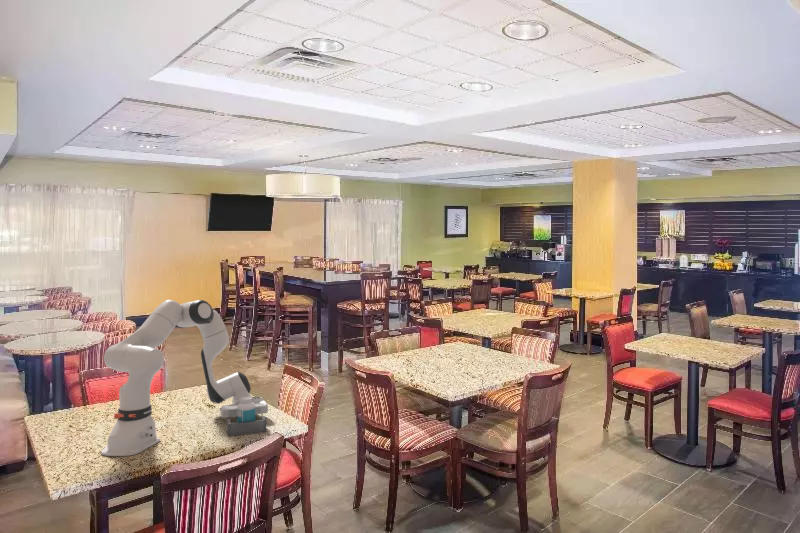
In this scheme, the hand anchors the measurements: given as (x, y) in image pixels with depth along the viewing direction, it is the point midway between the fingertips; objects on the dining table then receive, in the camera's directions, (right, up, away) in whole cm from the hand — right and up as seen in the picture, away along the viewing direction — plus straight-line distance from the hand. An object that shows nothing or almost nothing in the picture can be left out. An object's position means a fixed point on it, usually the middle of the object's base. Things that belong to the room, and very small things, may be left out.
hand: (245, 414), depth 241 cm
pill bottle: (+1, -6, -3) cm, 7 cm away
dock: (+2, -5, -6) cm, 8 cm away
